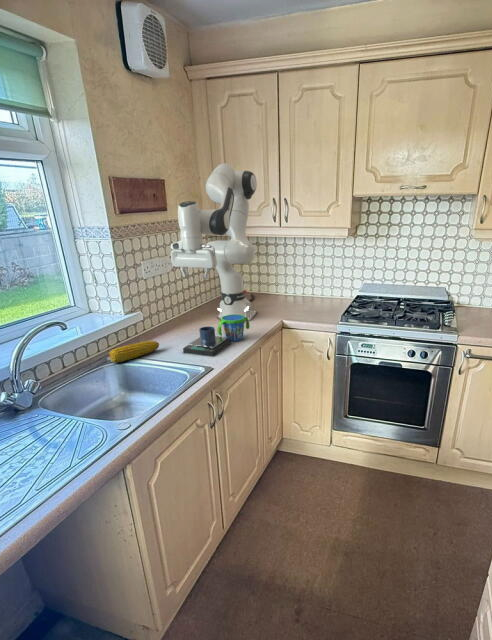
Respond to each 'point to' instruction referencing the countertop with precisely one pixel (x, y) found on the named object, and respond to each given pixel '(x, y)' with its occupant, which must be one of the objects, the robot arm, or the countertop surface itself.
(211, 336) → the dark blue faceted pot
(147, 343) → the food
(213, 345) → the scale pan
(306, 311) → the countertop surface
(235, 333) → the snack cup
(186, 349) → the scale
